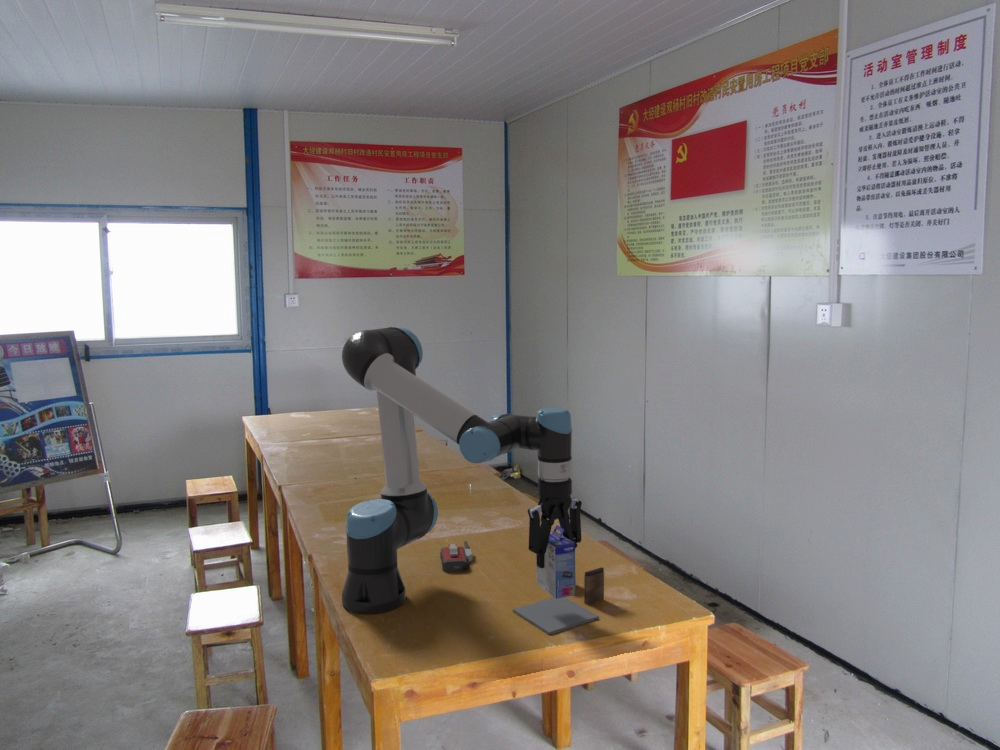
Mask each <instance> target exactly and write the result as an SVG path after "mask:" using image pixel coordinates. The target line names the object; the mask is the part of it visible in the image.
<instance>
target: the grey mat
mask: <svg viewBox="0 0 1000 750" xmlns="http://www.w3.org/2000/svg"><path fill="white" fill-rule="evenodd" d="M512 612H513V613H514V614H515V615H517V616H519V617H520V618H522V619H524V620H525V621H527V622H528V623H530V624H531V625H533V626H534V627H536V628H537V629H539V630H540V631H543V632H544V633H545V634H547V635H549V636H550V635H553V634H556V633H560V632H562V631H565V630H568V629H571V628H574V626H575V627H578V626H581V625H583V623H584V624H587V623H590V622H592V620H593V621H596V620H599V619H600V616H599V615H598V614H597V613H596V614H595V613H594V612H592V611H591V610H589V609H587V608H585V607H583V606H582V605H580V604H578V603H576V602H574V601H573V600H571V599H569V598H568V597H562V598H557V599H555V598H554V597H553V596H551V597H550V598H545V599H543V600H539V601H536V602H533V603H529V604H525V605H523V606H520V607H519V606H518V607H516V608H513V609H512ZM598 618H599V619H598ZM595 619H596V620H595ZM589 621H590V622H589ZM586 622H587V623H586ZM580 624H581V625H580ZM577 625H578V626H577Z"/></svg>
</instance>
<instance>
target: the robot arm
mask: <svg viewBox="0 0 1000 750" xmlns="http://www.w3.org/2000/svg"><path fill="white" fill-rule="evenodd" d="M341 351H342V352H341V361H342V365H343V368H344V370H345V372H346V373H347V374H348V376H350V377H351V378H352V380H354V381H355V382H356V383H357V384H359V385H361V386H362V387H363V388H365V389H366V390H367V391H371V392H372V391H376V398H377V408H378V409H377V411H378V418H379V427H380V437H381V445H382V446H381V447H382V459H383V467H384V478H385V479H384V480H385V485H384V486H383V488H382V489H381V490H380V497H381V498H374V499H370V500H364V501H361V502H358V503H357V504H355V505H353V506H352V507H350V509H349V510H348V512H347V514H346V524H345V532H346V547H347V569H348V572H347V575H346V578H345V583H344V586H343V589H342V591H341V592H342V593H341V604H342V606H343V607H344V609H346V610H347V611H349V612H354V613H357V614H378V613H384V612H388V611H391V610H392V611H393V610H394V609H396V608H399V607H401V606H402V605H403V604H404V603H405V602H406V598H407V595H406V594H407V593H406V586H405V584H404V581H403V578H402V576H401V573H400V570H399V567H398V550H399V549H401V548H403V547H405V546H406V545H408V544H411V543H412V542H415V541H417V540H420V539H422V538H423V537H425V536H426V535H427V534H429V533H430V532H431V531H432V530H433V528H434V527H435V526H436V524H437V521H438V515H439V507H438V504H437V501H436V500H435V498H434V497H432V496H433V495H432V494H431V493H430V492H429V491H428V489H427V488H428V487H427V485H426V484H425V483H424V482H423V481H421V479H420V468H419V457H418V447H417V446H418V445H417V439H416V437H417V436H416V425H415V417H417V418H418V419H420V420H421V421H423V422H424V423H426V424H427V425H429V426H431V427H432V428H434V429H435V430H436V431H438V432H439V433H441V434H443V435H444V436H445V437H447V438H449V439H450V440H451V441H453V442H454V443H456V444H457V445H458V446H459V451H460V454H462V456H463V458H464V459H465V460H466V461H468V462H470V463H472V464H481V463H486V462H491V461H493V460H494V459H495V458H498V457H500V456H502V455H504V454H508V453H509V452H512V451H514V450H516V449H517V450H518V449H519V450H531V451H537V476H538V480H537V492H538V497H539V499H538V500H539V501H538V503H537V505H536V506H535V507H533V508H532V507H529V508H527V515H528V517H529V522H528V523H529V524H528V525H529V526H528V528H529V529H528V551H530V552H532V553H534V554H535V557H536V556H537V567H539V579H540V580H542V581H544V582H546V583H548V582H549V554H547V553H546V549H547V545H548V540H549V536H550V532H552V531H551V530H552V527H553V526H554V525H555V521H556V520H558V523H559V526H560V527H561V528H563V529H564V532H563V535H562V536H564V537H566V538H567V539H569V540H571V541H572V542H574V543H575V549H576V548H577V547H578V544H579V543H581V542H582V540H583V539H582V523H581V522H582V521H581V520H582V519H581V507H582V504H583V502H582V501H581V500H579V499H577V498H572V496H571V495H572V494H573V493H572V492H573V490H572V489H573V483H572V482H573V480H572V479H571V477H572V473H573V472H572V469H573V468H572V462H573V461H572V458H573V457H572V437H573V436H572V434H573V427H572V416H571V412H570V411H569V410H568V409H566V408H561V407H544V408H540V409H539V410H538V411H537V413H536V414H537V415H536V416H532V415H531V416H528V415H519V414H512V413H496V414H494V415H492V416H491V417H490V419H489V420H488V421H486V420H485V419H483V418H482V417H480V416H479V415H477V414H475V413H474V412H472V411H471V410H469V409H467V408H466V407H465V406H463V405H461V404H460V403H459V402H457V401H455V400H454V399H452V398H451V397H449V396H447V395H446V394H445V393H443V392H441V391H440V390H438V389H437V388H435V387H433V386H431V385H430V384H429V383H428V382H426V381H424V380H423V379H421V378H420V377H418V376H417V374H416V370H417V369H418V368H419V366H420V364H421V363H422V361H423V354H424V352H423V347H422V343H421V342H420V339H419V338H418V336H417V335H416V334H414V332H412V331H411V330H409V329H408V328H405V327H398V326H397V327H396V326H395V327H394V326H393V327H392V326H389V327H384V328H383V327H382V328H376V329H375V328H374V329H365V330H364V329H363V330H360V331H357V332H355V333H354V334H352V335H351V336H349V337H348V339H347V340H346V342H345V343H344V346H343V347H342V350H341Z"/></svg>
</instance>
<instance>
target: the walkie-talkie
mask: <svg viewBox="0 0 1000 750" xmlns="http://www.w3.org/2000/svg"><path fill="white" fill-rule="evenodd" d="M463 544H464V547H463V546H458V545H457V543H449V544H448V546H446V547H442V548H441V549H440V551H439V553H440V554H439V556H440V560H441V567H442V571H443V572H445V573H446V572H461V571H468V570H469V569H470V566H469V563H470V562H472V561H473V549H472V548H470V547H469V544H468V541H467V540H465V541H463Z"/></svg>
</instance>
